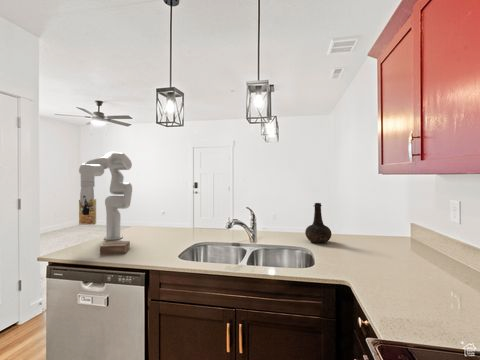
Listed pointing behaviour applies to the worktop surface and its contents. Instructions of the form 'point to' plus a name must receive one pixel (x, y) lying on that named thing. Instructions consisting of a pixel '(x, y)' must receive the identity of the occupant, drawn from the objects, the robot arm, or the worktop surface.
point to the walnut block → (114, 247)
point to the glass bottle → (318, 228)
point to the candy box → (91, 217)
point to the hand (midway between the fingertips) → (87, 213)
